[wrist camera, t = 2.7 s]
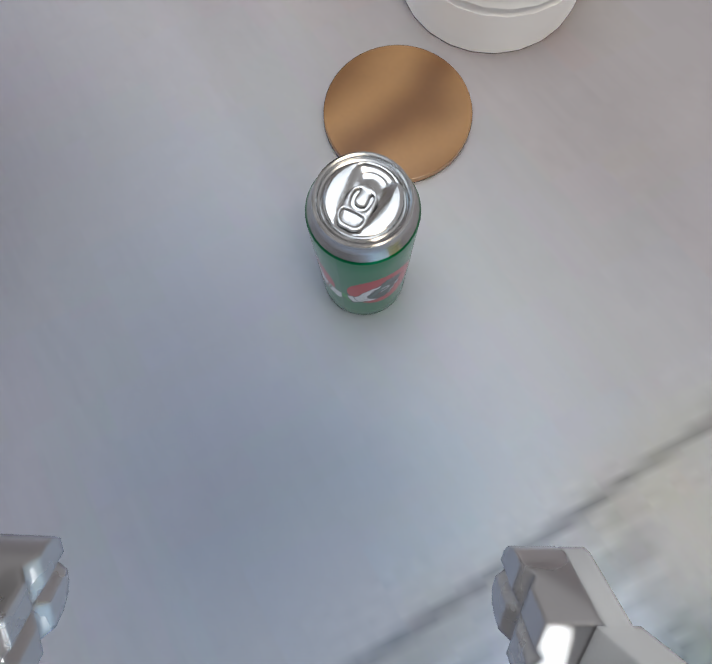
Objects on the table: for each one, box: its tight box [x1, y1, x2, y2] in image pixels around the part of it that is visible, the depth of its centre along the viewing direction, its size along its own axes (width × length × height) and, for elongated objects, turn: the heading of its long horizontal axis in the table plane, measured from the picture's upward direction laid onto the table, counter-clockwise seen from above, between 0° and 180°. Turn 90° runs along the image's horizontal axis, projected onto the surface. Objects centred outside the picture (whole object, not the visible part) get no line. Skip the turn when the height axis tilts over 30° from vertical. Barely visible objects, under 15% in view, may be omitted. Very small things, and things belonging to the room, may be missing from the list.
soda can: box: [305, 151, 421, 315], centre depth 27 cm, size 5×5×12 cm
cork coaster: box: [324, 45, 472, 182], centre depth 35 cm, size 10×10×1 cm
